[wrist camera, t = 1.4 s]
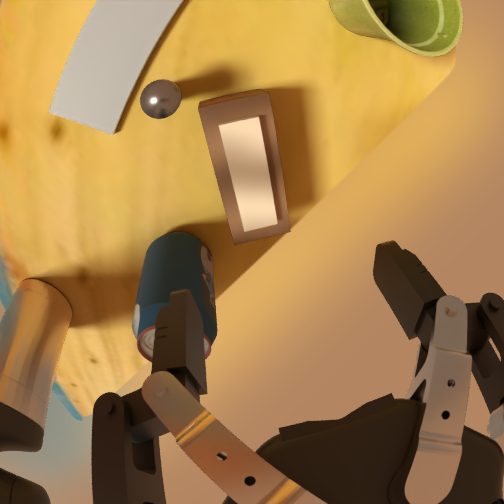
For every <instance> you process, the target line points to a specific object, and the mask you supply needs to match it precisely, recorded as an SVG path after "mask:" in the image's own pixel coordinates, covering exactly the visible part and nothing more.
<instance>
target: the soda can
mask: <svg viewBox="0 0 504 504" xmlns="http://www.w3.org/2000/svg"><path fill="white" fill-rule="evenodd" d="M185 289H189V290H190V292H191V294H192V296H193V298H194V300H195V302H196V305H197V307H198V309H199V311H200V313H201V316H202V320H203V329H204V349H205V359H207V357H208V356H209V355H210V352H211V346H212V344H213V342H214V340H215V338H216V336H217V321H216V320H217V319H216V306H215V292H214V277H213V261H212V255H211V252H210V250H209V249H208V247H207V246H206V245H205V244H204V243H203V242H202V241H201V240H200V239H198V238H197V237H195V236H193V235H191V234H189V233H185V232H172V233H168V234H165V235H163V236H161V237H159V238H157V239H156V240H155V241H154V242H153V243H152V244H151V245H150V246H149V248H148V250H147V253H146V257H145V261H144V265H143V270H142V275H141V279H140V284H139V289H138V294H137V299H136V305H135V310H134V316H133V322H132V329H133V332H134V335H135V337H136V339H137V347H138V350H139V352H140V353H141V354H142V356H143V357H144V358H146V359H147V360H149V361H150V362H152V358H153V346H154V339H155V338H154V334H155V324H156V317H157V315H158V313H159V312H160V310H161V308H162V307H166V306H169V301H170V293H171V292H175V291H180V290H185Z"/></svg>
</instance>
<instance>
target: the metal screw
mask: <svg viewBox="0 0 504 504" xmlns="http://www.w3.org/2000/svg"><path fill="white" fill-rule="evenodd" d="M181 97H182V96H181V91H180V89H179V87H178V86H177V85H176V84H175V83H174V82H172V81H170V80H165V79H162V80H156V81H153V82H151V83H150V84H148V85H147V86H146V87H145V88H144V90H143V91H142V94H141V97H140V104H141V107H142V110H143V111H144V112H145V113H146V114H147V115H148V116H150V117H152V118H156V119H162V118H166V117H168V116H170V115H172V114H173V113H174V112H175V111H176V110H177V109H178V107H179V105H180V103H181Z"/></svg>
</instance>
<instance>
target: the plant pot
mask: <svg viewBox="0 0 504 504" xmlns="http://www.w3.org/2000/svg"><path fill="white" fill-rule="evenodd" d="M329 5H330V8H331V10H332V11H333V13H334V15H335V17H336V18H337V20H338V22H339V23H340V24H341V25H342V26H343V27H345V28H346V29H347V30H349V31H351V32H353V33H355V34H358V35H362V36H368V37H374V38H380V39H385V40H390V41H393V42H395V43H396V44H398V45H399V46H401V47H402V48H404V49H406V50H408V51H410V52H413V53H415V54H419V55H423V56H431V57H435V56H441V55H444V54H446V53H448V52H450V51H451V50H452V49H453V48H454V47H455V46H456V44H457V43H458V41H459V39H460V37H461V34H462V28H463V14H462V7H461V3H460V0H329ZM382 13H383V22H381V21H380V18H381V15H382Z"/></svg>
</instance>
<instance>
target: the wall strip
mask: <svg viewBox="0 0 504 504" xmlns="http://www.w3.org/2000/svg"><path fill="white" fill-rule="evenodd" d="M183 2H184V0H97V2H96V3H95V5H94V7H93V9H92V10H91V12H90V14H89V16H88V18H87V20H86V21H85V23H84V25H83V27H82V29H81V31H80V33H79V35H78V37H77V40H76V42H75V44H74V46H73V48H72V51H71V53H70V55H69V57H68V60H67V62H66V65H65V67H64V70H63V72H62V75H61V78H60V80H59V83H58V86H57V89H56V92H55V95H54V98H53V101H52V104H51V107H50V110H49V113H51V114H54V115H57V116H60V117H63V118H66V119H69V120H72V121H75V122H78V123H81V124H83V125H86V126H89V127H92V128H95V129H97V130H100V131H103V132H105V133H108V134H111V135H113V134H115V131H116V129H117V126H118V124H119V121H120V119H121V116H122V114H123V112H124V109H125V107H126V105H127V102H128V100H129V98H130V96H131V93H132V91H133V89H134V87H135V85H136V83H137V81H138V79H139V77H140V75H141V73H142V71H143V69H144V67H145V65H146V63H147V61H148V59H149V57H150V55H151V53H152V52H153V50H154V48H155V46H156V45H157V43H158V41H159V39H160V38H161V36H162V34H163V33H164V31H165V29H166V28H167V26H168V24H169V23H170V21H171V20H172V18H173V16H174V15H175V13H176V12H177V10H178V9H179V7H180V6H181V4H182V3H183Z"/></svg>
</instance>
